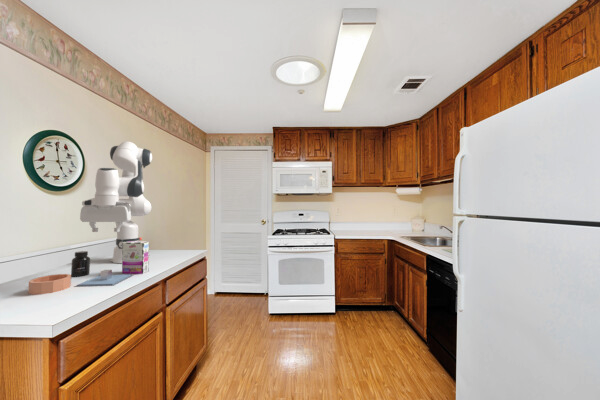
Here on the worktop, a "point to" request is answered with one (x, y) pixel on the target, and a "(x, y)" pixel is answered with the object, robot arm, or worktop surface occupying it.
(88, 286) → the mat
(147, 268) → the candy bar box
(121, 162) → the robot arm
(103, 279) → the cover sheet
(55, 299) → the worktop surface
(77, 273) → the supplement bottle
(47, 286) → the bowl
